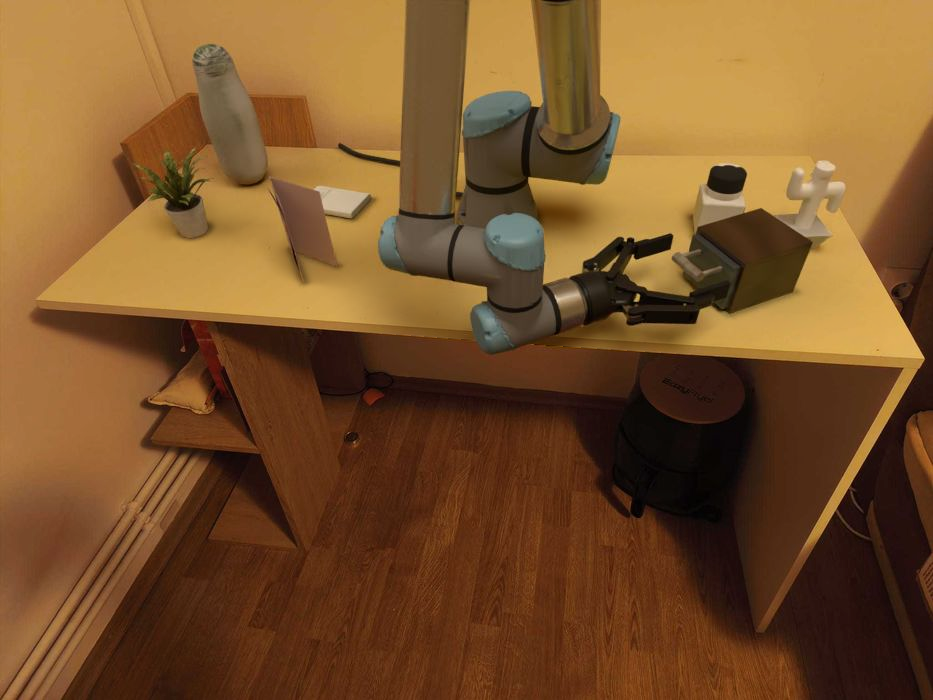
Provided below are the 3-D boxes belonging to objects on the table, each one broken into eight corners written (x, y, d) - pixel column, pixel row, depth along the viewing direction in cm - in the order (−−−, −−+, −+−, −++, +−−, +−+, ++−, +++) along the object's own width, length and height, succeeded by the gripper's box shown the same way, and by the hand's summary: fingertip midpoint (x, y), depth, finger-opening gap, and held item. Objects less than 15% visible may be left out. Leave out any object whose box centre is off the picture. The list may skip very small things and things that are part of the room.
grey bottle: (217, 183, 135) (169, 48, 116) (256, 165, 140) (215, 33, 121) (244, 196, 130) (197, 58, 111) (282, 177, 136) (245, 42, 116)
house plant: (250, 229, 121) (224, 150, 110) (186, 261, 114) (151, 180, 103) (213, 205, 128) (184, 129, 117) (150, 234, 121) (114, 156, 110)
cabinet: (729, 313, 96) (745, 263, 90) (685, 275, 104) (697, 226, 97) (792, 292, 99) (813, 242, 93) (745, 256, 107) (761, 207, 100)
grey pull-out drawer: (695, 318, 95) (706, 278, 89) (657, 283, 101) (665, 243, 96) (780, 289, 99) (796, 248, 93) (738, 257, 105) (751, 217, 100)
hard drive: (352, 220, 122) (299, 210, 125) (371, 199, 127) (320, 190, 131) (350, 213, 120) (297, 203, 124) (370, 192, 126) (318, 183, 129)
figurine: (831, 253, 106) (866, 173, 96) (776, 255, 106) (806, 176, 96) (813, 230, 112) (845, 152, 101) (761, 232, 112) (787, 155, 101)
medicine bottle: (735, 240, 110) (754, 179, 102) (694, 237, 112) (709, 177, 103) (731, 219, 115) (748, 159, 107) (692, 216, 117) (706, 157, 108)
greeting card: (286, 250, 115) (263, 177, 104) (324, 240, 117) (306, 167, 106) (299, 284, 107) (276, 208, 97) (340, 272, 109) (322, 197, 99)
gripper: (535, 275, 100) (646, 242, 105) (619, 376, 83) (746, 331, 88) (537, 236, 95) (653, 204, 100) (626, 335, 78) (761, 290, 83)
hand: (697, 263), depth 94 cm, fingers open, 13 cm apart
